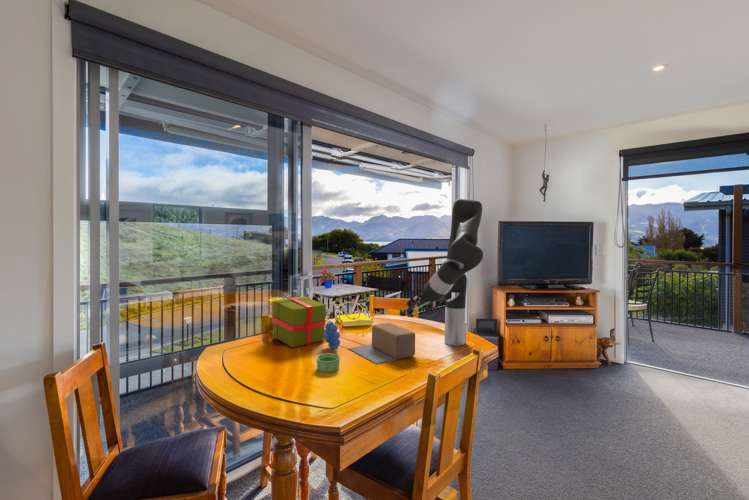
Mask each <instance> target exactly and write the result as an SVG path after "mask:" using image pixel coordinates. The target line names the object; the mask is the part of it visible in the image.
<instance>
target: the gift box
mask: <svg viewBox="0 0 749 500" xmlns="http://www.w3.org/2000/svg"><path fill="white" fill-rule="evenodd" d="M326 309H327V305H326V304H324V303H322V302H320V301H317V300H314V299H311V297H308V296H306V295H305V296H299V297H287V298H283V299H275V300H273V310H272V311H273V312H272V313H273V315H272V319H271V320H272V321H271V322H272V338H274V339H275V340H278V341H281V342H283V344H286V345H288V346H289V347H291V348H296V347H300V346H304V345H306V346H307V345H308V346H309V345H311V344H313V343H317V342H322V341H324V340H325V339H324V332H325V330H326V328H325V326H326V324H327V323H326V321H327V320H326Z"/></svg>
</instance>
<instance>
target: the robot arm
mask: <svg viewBox="0 0 749 500" xmlns="http://www.w3.org/2000/svg"><path fill="white" fill-rule="evenodd" d="M451 211H452V213H451V223H450V224H451V226H450V235H449V241H448V246H447V252H446V253H447V255H446V260H445V261H444V262H443V263H442V264H441V265H440V267H439V268H438V269H437V271H435V272H434V273H433V274H432V276H431V277H430V278H429V280H428V281H427V282H426V283H425V285H424V287H423V292H422V293H420V295H418V294H417V293H414V294H413V295H412V296H411V298H410V299H409V300H408V301H407V302H406V305H407V306H408V308H407V309H406V314H407V315H408V316H411V315H412V314H413V313H414V312H415V310H417V309H418V308H420V309H421V308H422V307H424V306H425V305H426V306H425V307H424V309H423V310H424V311H425V313H426V314H427V313H430V311H432V309H433V308H436V306H437V307H439V306H440V305H441V304H442V303H443V302H444V301H445V311H444V313H445V315H444V344H446V345H447V346H454V347H455V346H456V347H461V346H464V345H465V344H467V323H466V300H467V287H468V286H467V285H468V278H467V277H468V276H467V273H468V272H471V270H473V269H475V268H476V267H478V265H480V263H482V261H483V259H484V251H483V250H482V248H480V247H479V246H477V245H478V233H479V228H480V226H481V225H480V224H481V221H482V215H483V205H482V203H481V202H480V201H478V200H476V199H475V200H473V199H464V198H457V199H456V200H455V201H454V202H453V205H452V210H451ZM448 293H456V294H457V293H458V294H457V295H455V296H454V297H451V298H449V299H446V298H447V294H448ZM445 299H446V300H445Z"/></svg>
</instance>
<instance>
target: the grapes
mask: <svg viewBox="0 0 749 500" xmlns="http://www.w3.org/2000/svg"><path fill="white" fill-rule="evenodd" d="M340 336H341V333H340V332H339V331H338V326H337V325H336V324H335V323H334V322H333V321H329V322H327V323H326V325H325V329H324V340H325V342H326V343H327V344H328V347H329V348H330V349H331V350H334V351H337V350H338V349H339V346H340V344H341V340H340Z"/></svg>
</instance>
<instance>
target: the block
mask: <svg viewBox="0 0 749 500" xmlns="http://www.w3.org/2000/svg"><path fill="white" fill-rule="evenodd" d="M371 344H372V346H373V347H375V348H377V349H378V350H380V351H382V352H384V353H386V354H388V355H390V356H391V357H393V358H395V359H398V360H400V359H399V358H403V359H405V358H404V357H407V358H410V357H409V356H411V357H413V356H415V355H416V333H415V332H414V331H411V330H410V329H409V330H408V329H406V328H403V327H402V326H398V325H397V324H395V323H394V324H393V323H392V322H384V323H377V324H373V325H372V326H371Z"/></svg>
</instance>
